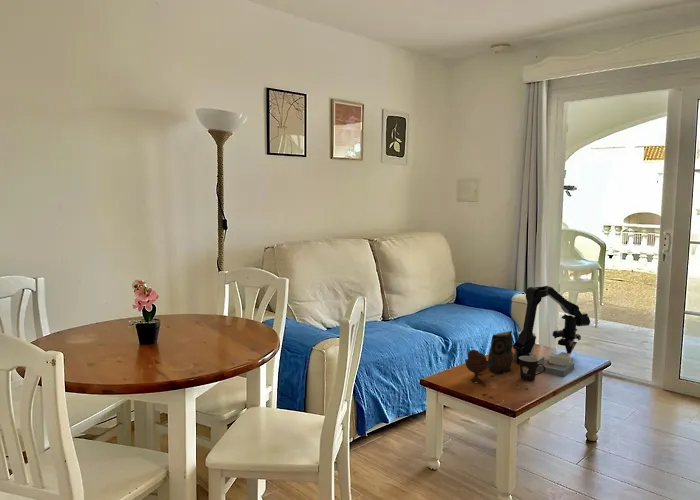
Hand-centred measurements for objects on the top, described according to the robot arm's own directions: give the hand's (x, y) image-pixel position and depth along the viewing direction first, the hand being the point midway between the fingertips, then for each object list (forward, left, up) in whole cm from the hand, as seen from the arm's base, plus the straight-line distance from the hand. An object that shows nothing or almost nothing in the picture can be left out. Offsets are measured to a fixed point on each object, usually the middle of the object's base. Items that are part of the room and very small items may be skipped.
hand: (568, 355), depth 275 cm
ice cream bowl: (-60, -31, -2) cm, 68 cm away
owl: (-44, -16, -2) cm, 47 cm away
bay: (-16, -17, -2) cm, 23 cm away
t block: (-7, -7, -2) cm, 10 cm away
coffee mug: (-34, -31, -2) cm, 46 cm away
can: (-20, +8, -2) cm, 22 cm away
